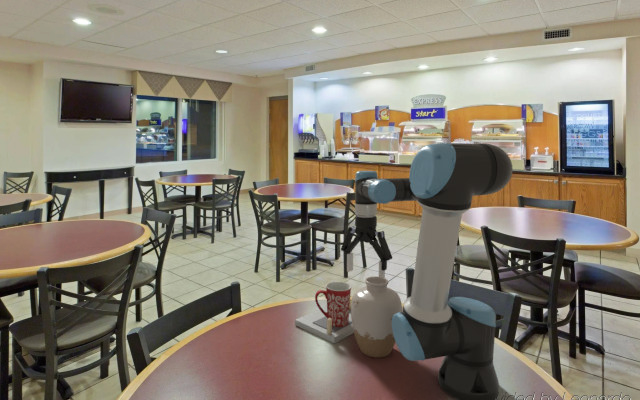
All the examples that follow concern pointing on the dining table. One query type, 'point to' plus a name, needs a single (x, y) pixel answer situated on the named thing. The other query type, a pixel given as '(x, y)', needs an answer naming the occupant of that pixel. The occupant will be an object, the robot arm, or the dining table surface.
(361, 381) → the dining table surface
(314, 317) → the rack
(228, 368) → the dining table surface
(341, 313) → the mug
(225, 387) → the dining table surface
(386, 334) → the white ceramic vase
